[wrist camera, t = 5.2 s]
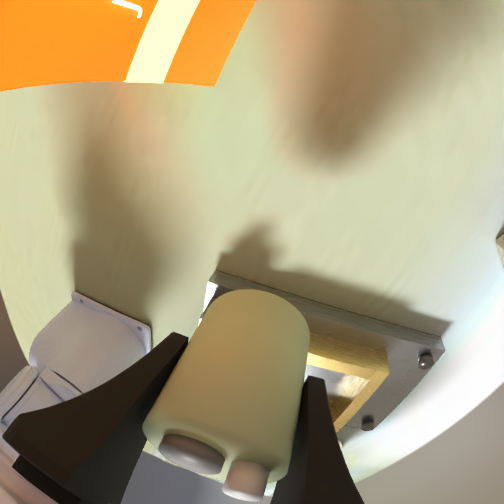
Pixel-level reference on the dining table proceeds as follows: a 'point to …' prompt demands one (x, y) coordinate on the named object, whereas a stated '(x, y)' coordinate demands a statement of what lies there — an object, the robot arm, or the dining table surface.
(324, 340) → the grey metal fixture plate
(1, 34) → the orange juice
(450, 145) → the dining table surface
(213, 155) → the dining table surface
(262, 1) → the dining table surface
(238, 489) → the spout can
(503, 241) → the skincare box
